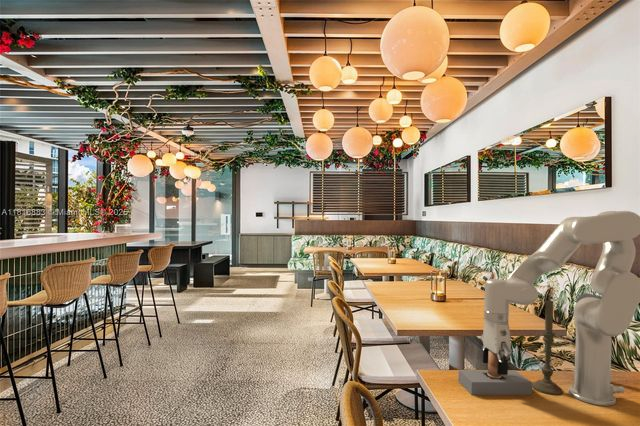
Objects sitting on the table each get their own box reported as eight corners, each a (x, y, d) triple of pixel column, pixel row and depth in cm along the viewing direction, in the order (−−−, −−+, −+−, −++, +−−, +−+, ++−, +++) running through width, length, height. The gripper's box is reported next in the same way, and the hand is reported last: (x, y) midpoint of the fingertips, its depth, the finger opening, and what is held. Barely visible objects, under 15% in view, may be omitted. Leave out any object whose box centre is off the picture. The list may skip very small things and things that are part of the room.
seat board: (514, 381, 139) (514, 370, 139) (531, 394, 129) (532, 382, 129) (458, 381, 137) (458, 369, 137) (471, 394, 127) (471, 382, 127)
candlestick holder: (550, 396, 128) (553, 302, 128) (525, 385, 136) (528, 296, 136) (569, 392, 132) (572, 301, 132) (543, 381, 140) (546, 295, 140)
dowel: (496, 385, 135) (497, 349, 135) (503, 390, 131) (504, 354, 131) (484, 385, 135) (485, 349, 135) (490, 390, 131) (492, 354, 131)
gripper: (522, 324, 125) (520, 379, 125) (494, 310, 142) (492, 359, 142) (498, 323, 124) (496, 379, 124) (473, 310, 142) (471, 358, 142)
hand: (494, 368), depth 133 cm, fingers open, 9 cm apart
